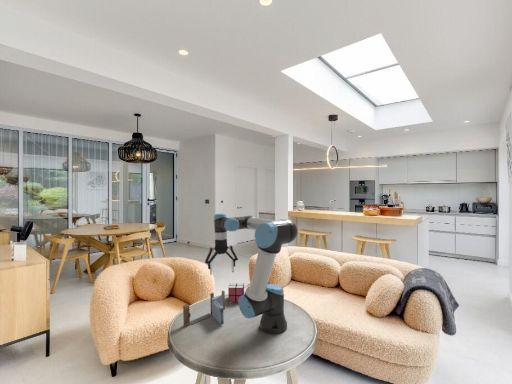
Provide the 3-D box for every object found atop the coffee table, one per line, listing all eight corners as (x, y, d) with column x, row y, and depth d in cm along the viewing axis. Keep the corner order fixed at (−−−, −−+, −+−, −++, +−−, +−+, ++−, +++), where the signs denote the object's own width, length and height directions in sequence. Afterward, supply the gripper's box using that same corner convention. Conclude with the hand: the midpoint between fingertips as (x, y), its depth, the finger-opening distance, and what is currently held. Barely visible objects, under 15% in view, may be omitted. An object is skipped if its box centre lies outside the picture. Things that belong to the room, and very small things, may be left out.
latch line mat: (212, 315, 170) (212, 315, 170) (191, 325, 159) (191, 324, 159) (208, 313, 172) (208, 313, 172) (187, 323, 161) (187, 322, 161)
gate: (212, 313, 170) (211, 298, 170) (214, 313, 171) (214, 297, 170) (220, 324, 157) (220, 307, 157) (223, 323, 158) (223, 307, 158)
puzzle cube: (243, 302, 188) (243, 288, 188) (228, 302, 188) (228, 288, 188) (244, 296, 198) (244, 282, 198) (230, 296, 198) (229, 282, 198)
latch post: (190, 325, 158) (190, 305, 158) (186, 327, 156) (186, 307, 156) (187, 323, 160) (187, 304, 160) (183, 325, 158) (183, 305, 158)
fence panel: (225, 308, 179) (225, 291, 178) (215, 313, 173) (215, 295, 172) (223, 307, 180) (223, 290, 180) (213, 312, 174) (213, 294, 174)
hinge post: (215, 313, 172) (214, 292, 172) (212, 315, 170) (211, 294, 170) (212, 312, 174) (212, 291, 173) (209, 313, 172) (209, 293, 172)
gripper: (239, 236, 180) (240, 269, 180) (199, 239, 173) (200, 273, 173) (241, 238, 173) (243, 272, 173) (201, 241, 165) (202, 277, 166)
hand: (221, 273), depth 173 cm, fingers open, 13 cm apart
